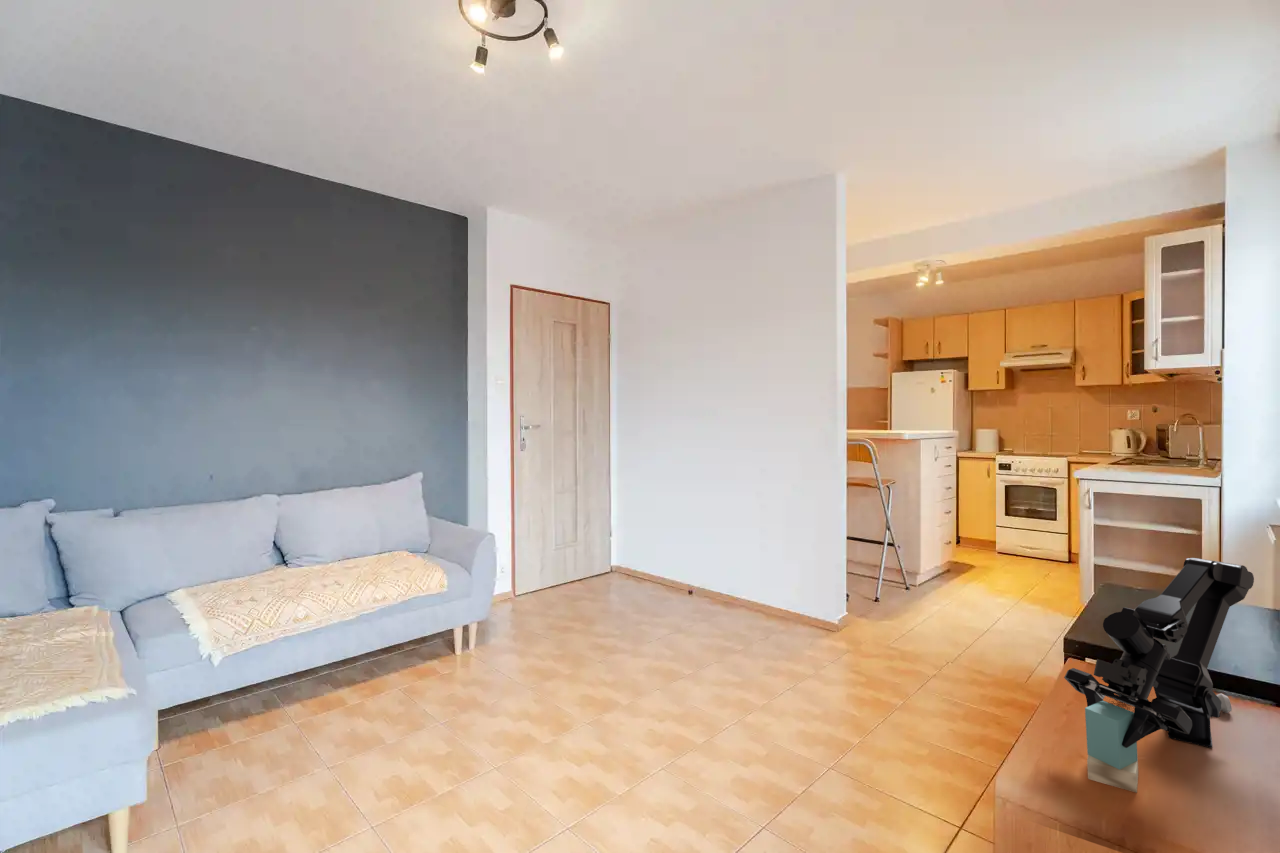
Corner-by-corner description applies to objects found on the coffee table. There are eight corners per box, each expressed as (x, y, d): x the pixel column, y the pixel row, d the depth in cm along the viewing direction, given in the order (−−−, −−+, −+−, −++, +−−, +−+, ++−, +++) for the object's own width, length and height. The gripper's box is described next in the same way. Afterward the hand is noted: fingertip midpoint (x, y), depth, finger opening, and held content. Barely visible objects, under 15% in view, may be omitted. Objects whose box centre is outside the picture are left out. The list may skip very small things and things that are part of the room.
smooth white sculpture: (1182, 714, 131) (1181, 698, 135) (1233, 724, 126) (1231, 707, 129) (1180, 698, 130) (1179, 682, 134) (1232, 707, 125) (1229, 691, 128)
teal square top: (1105, 746, 115) (1102, 700, 114) (1137, 760, 110) (1135, 712, 109) (1087, 754, 113) (1084, 707, 112) (1119, 769, 108) (1117, 721, 107)
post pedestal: (1138, 772, 112) (1136, 736, 111) (1136, 792, 106) (1134, 754, 106) (1091, 760, 116) (1089, 725, 116) (1088, 778, 111) (1086, 742, 111)
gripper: (1067, 628, 121) (1034, 695, 117) (1179, 661, 103) (1144, 742, 100) (1094, 657, 124) (1062, 723, 120) (1207, 694, 107) (1174, 773, 103)
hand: (1106, 738), depth 111 cm, fingers closed on teal square top, 5 cm apart
